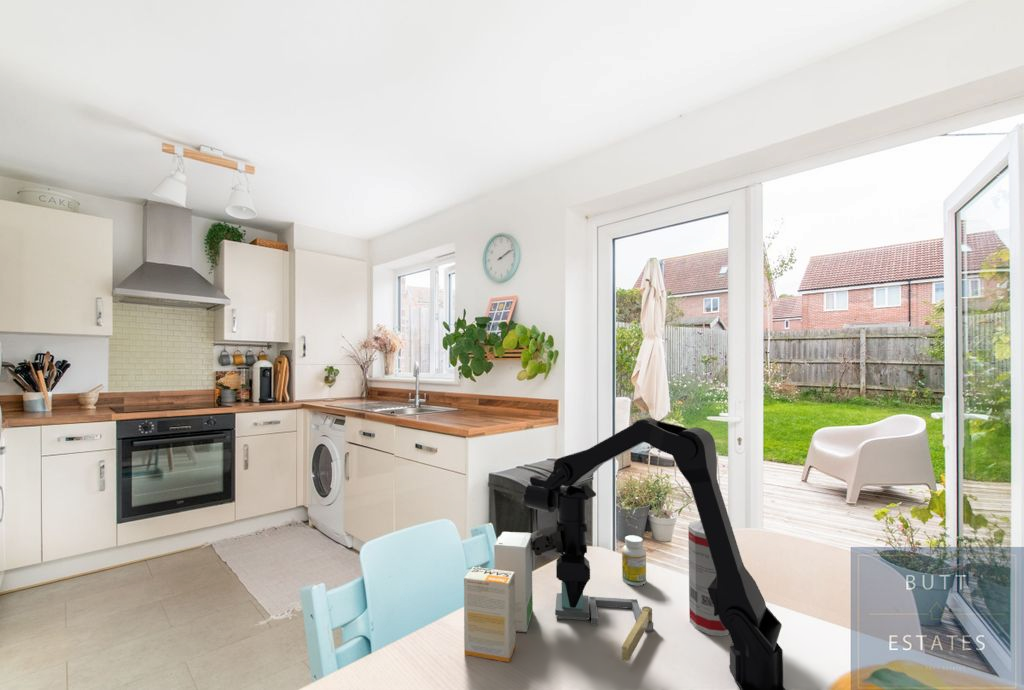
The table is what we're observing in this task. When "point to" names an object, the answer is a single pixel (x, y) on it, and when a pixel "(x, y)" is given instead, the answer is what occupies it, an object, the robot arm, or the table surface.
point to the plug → (564, 606)
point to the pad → (572, 617)
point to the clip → (636, 633)
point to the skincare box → (517, 572)
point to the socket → (615, 603)
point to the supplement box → (489, 613)
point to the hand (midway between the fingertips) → (572, 595)
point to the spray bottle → (701, 583)
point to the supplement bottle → (634, 561)
